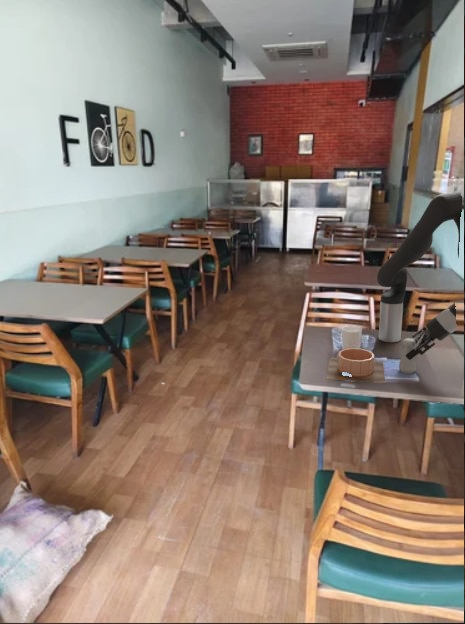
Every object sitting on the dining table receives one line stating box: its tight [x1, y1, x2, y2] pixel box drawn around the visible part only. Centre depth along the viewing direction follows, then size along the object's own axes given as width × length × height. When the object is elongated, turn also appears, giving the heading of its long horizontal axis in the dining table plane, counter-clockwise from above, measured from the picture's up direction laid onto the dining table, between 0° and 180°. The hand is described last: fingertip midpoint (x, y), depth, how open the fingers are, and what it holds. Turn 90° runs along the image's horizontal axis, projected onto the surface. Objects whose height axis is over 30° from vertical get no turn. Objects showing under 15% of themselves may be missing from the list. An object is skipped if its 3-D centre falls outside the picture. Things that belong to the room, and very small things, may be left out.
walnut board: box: [325, 357, 386, 385], centre depth 159 cm, size 20×20×1 cm
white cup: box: [341, 325, 363, 350], centre depth 177 cm, size 8×8×10 cm
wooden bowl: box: [337, 348, 375, 377], centre depth 158 cm, size 13×13×6 cm
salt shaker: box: [398, 337, 417, 375], centre depth 154 cm, size 6×6×13 cm
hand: (406, 353), depth 154 cm, fingers open, 8 cm apart
